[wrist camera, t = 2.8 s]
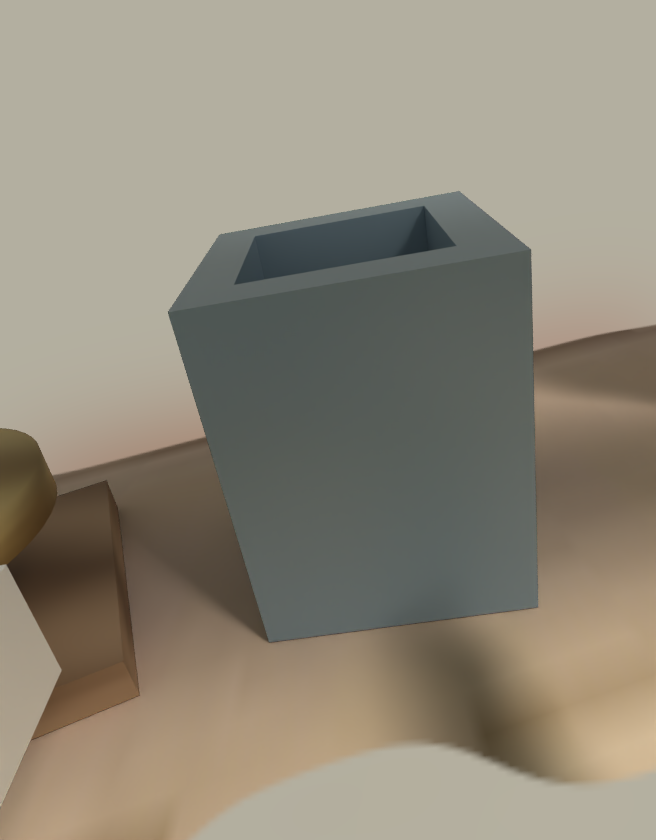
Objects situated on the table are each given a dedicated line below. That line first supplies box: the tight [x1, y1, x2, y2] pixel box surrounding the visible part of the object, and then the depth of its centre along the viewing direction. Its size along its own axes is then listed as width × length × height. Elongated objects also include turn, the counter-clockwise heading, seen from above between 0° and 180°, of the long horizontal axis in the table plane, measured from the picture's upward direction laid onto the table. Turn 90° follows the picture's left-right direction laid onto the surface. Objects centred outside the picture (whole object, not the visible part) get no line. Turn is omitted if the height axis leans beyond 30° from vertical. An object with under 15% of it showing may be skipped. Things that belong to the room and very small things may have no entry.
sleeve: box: [168, 191, 538, 642], centre depth 21 cm, size 8×8×11 cm
